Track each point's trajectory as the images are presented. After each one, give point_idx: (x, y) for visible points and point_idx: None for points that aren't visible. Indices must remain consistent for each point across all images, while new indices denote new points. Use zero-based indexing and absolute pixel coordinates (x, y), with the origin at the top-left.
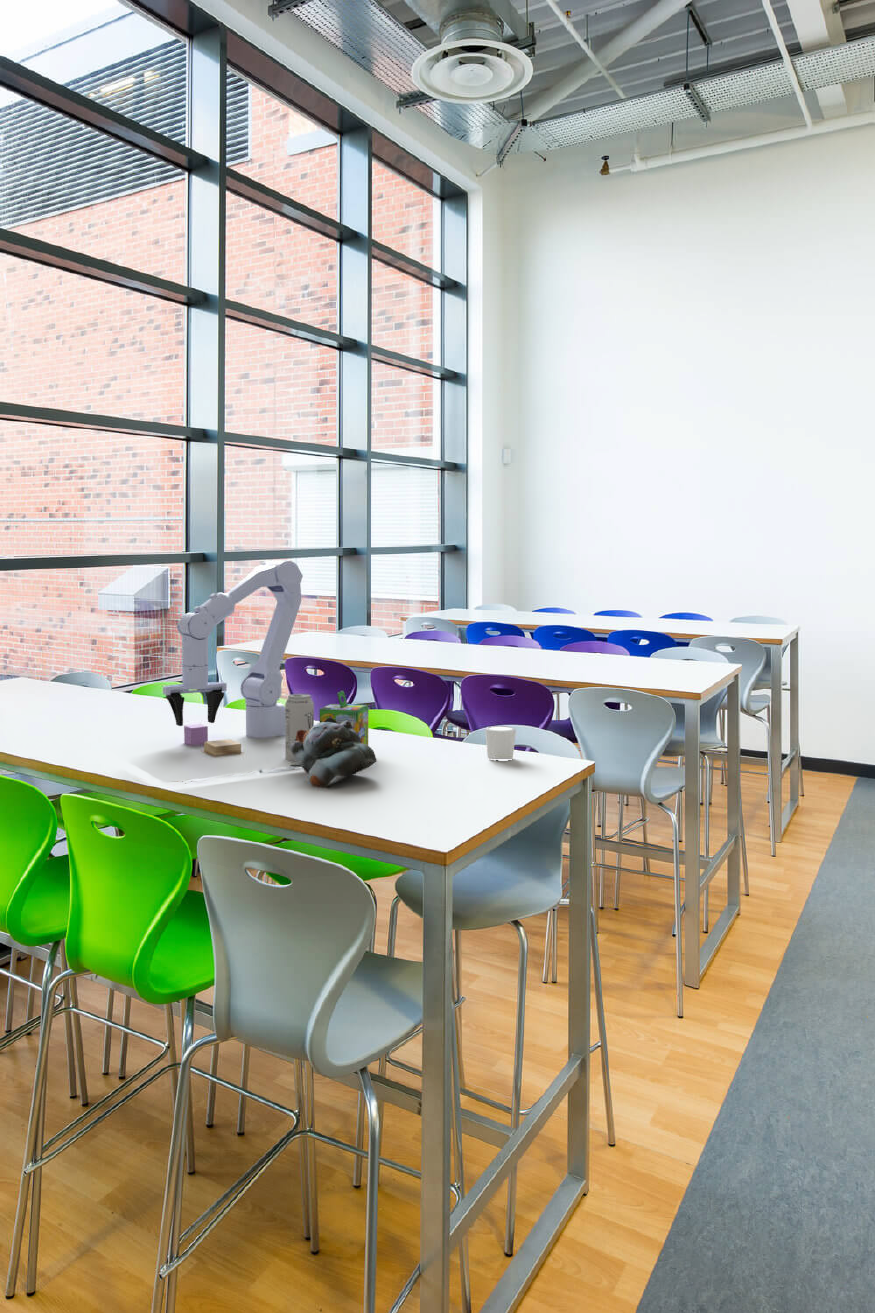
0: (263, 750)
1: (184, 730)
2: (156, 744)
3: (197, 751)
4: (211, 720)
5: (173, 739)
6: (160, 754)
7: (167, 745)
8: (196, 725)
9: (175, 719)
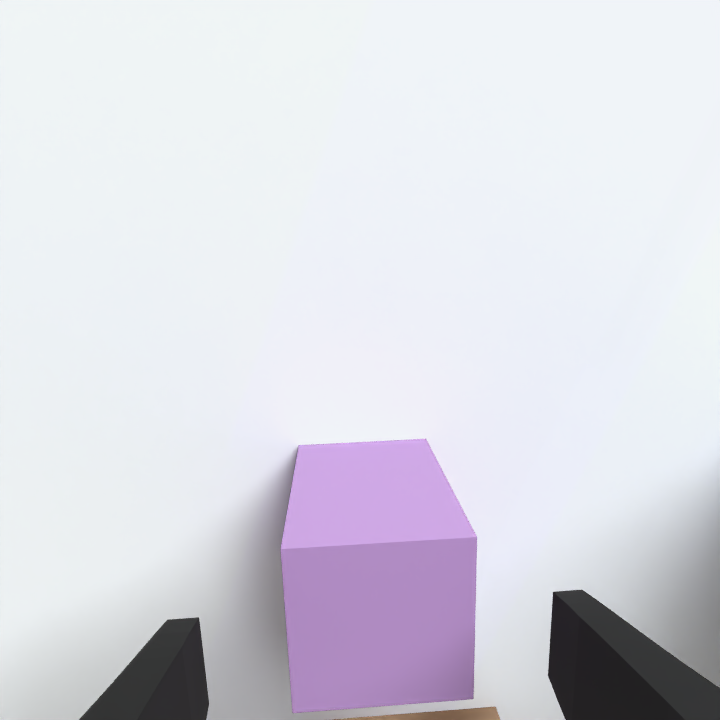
0: None
1: (287, 524)
2: (152, 161)
3: None
4: (562, 696)
5: (353, 10)
6: (90, 540)
7: (224, 254)
8: (399, 603)
9: (129, 665)
